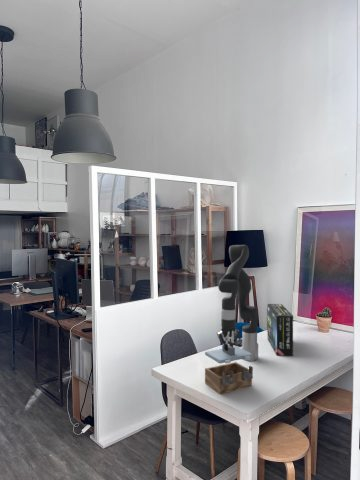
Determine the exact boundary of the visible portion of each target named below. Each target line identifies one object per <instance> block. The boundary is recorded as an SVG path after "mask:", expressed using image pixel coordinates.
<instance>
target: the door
mask: <svg viewBox="0 0 360 480" xmlns="http://www.w3.org/2000/svg"><path fill="white" fill-rule="evenodd" d="M204 355H205V356H206V357H208V358H210V359H211V360H213V361H215V362H216V363H217V364H220V365H222V364H229V363H232V362H236V361H239V360H244V359H250V357H252V354H251V353H249V352H247V351H245V350H243V349H242V347H238V346H234V345H233V347H232V346H230V345H229V344H228V351H225V350H224V344H223V343H221V348H219V349H218V348H217V349H214V350H207V351H205V352H204Z"/></svg>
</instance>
